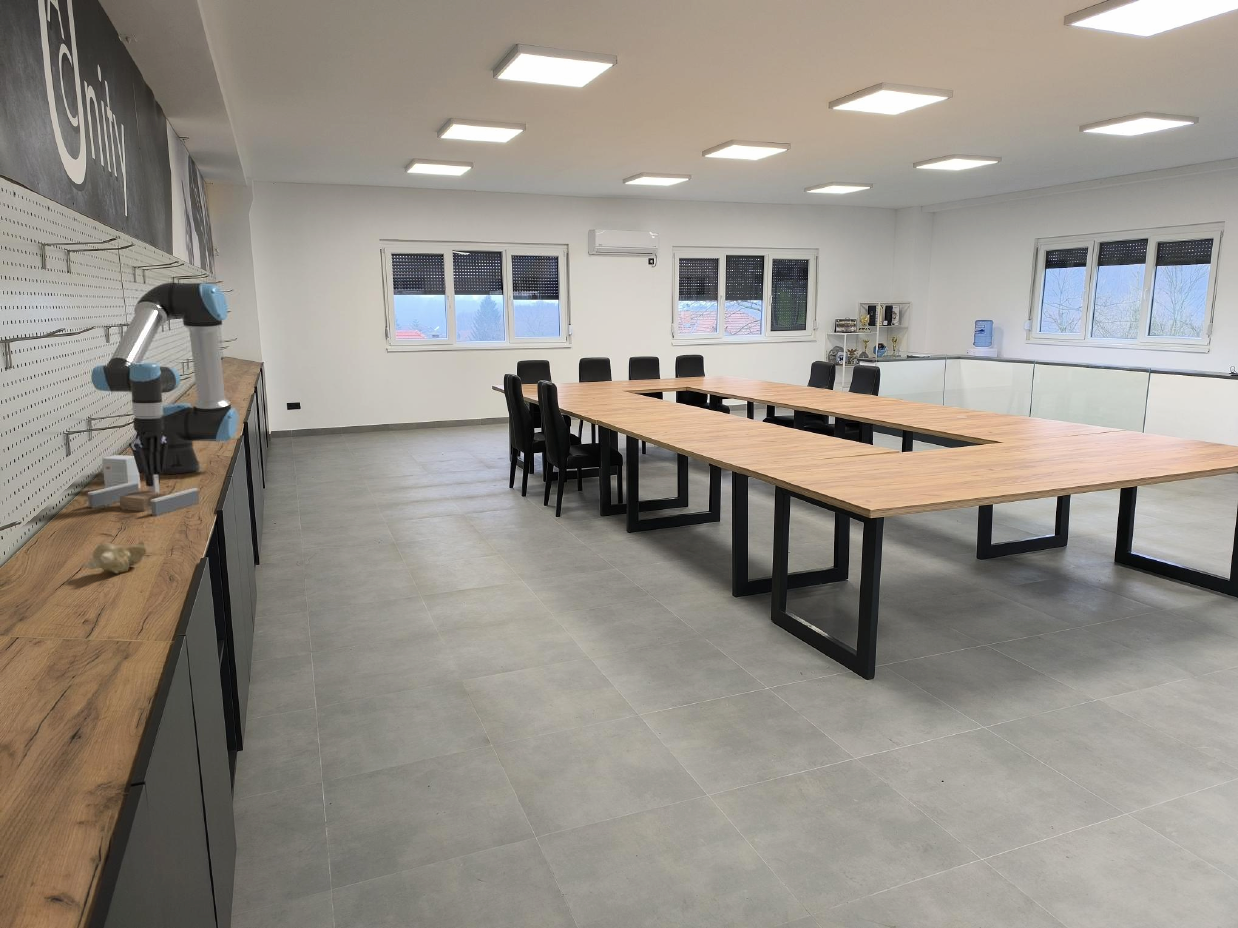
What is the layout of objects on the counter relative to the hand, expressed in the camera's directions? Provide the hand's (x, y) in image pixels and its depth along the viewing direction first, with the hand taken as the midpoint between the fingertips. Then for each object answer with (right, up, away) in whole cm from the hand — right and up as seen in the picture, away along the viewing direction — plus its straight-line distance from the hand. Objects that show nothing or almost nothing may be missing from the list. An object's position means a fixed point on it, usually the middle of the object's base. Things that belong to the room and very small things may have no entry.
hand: (153, 496), depth 236 cm
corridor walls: (-1, -3, -3) cm, 4 cm away
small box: (-18, +1, +15) cm, 23 cm away
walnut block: (-1, -3, -4) cm, 5 cm away
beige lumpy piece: (+25, -15, -58) cm, 65 cm away
